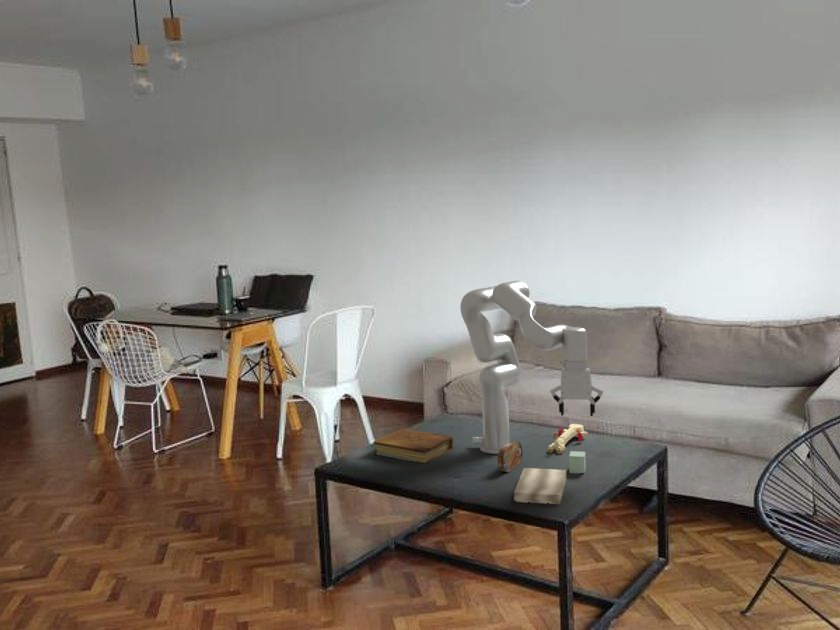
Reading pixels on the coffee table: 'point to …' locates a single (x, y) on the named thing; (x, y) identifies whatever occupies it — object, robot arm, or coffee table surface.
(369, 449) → the coffee table surface
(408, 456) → the diary
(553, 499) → the base block
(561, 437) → the cream elongated piece
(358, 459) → the coffee table surface
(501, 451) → the tin
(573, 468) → the block
